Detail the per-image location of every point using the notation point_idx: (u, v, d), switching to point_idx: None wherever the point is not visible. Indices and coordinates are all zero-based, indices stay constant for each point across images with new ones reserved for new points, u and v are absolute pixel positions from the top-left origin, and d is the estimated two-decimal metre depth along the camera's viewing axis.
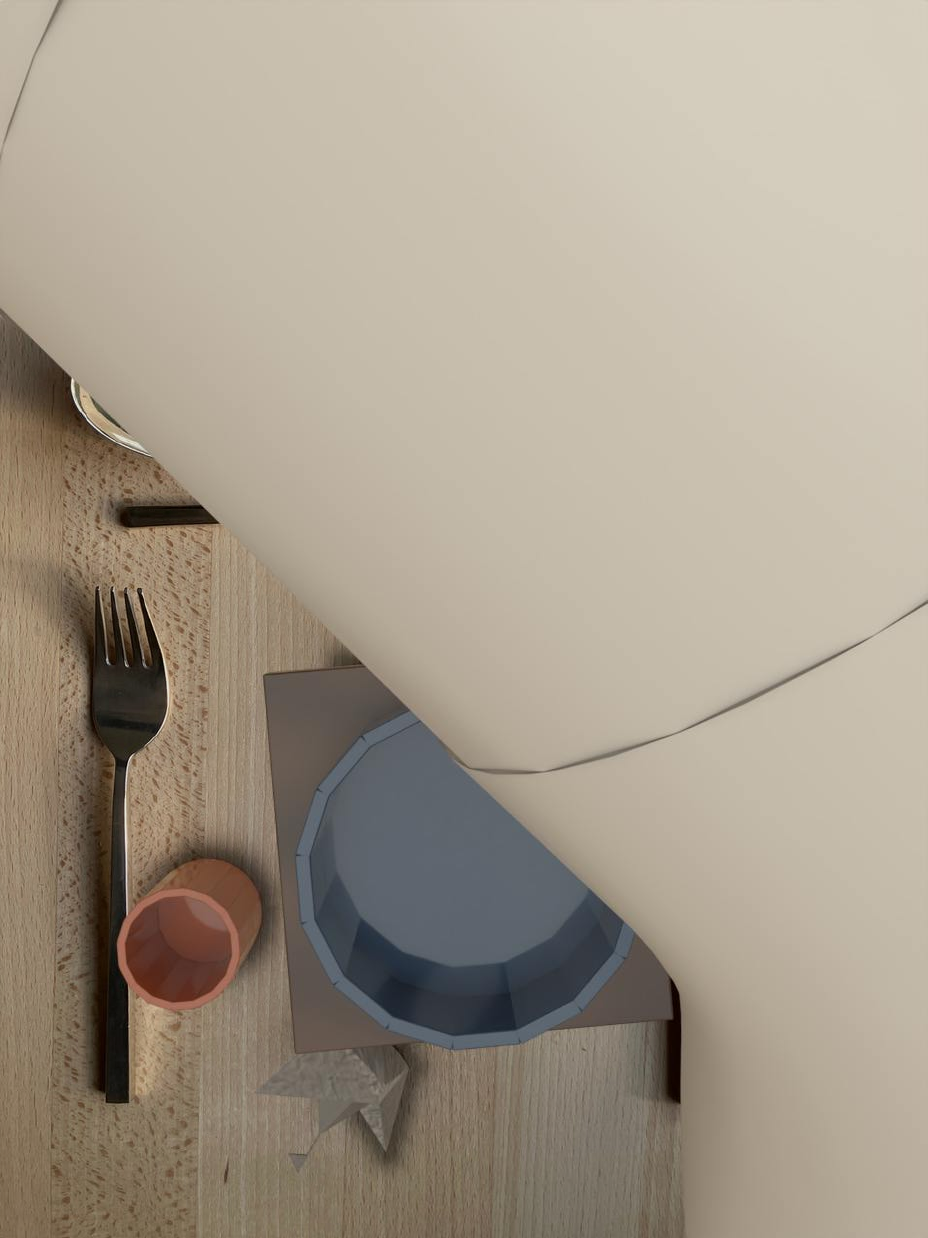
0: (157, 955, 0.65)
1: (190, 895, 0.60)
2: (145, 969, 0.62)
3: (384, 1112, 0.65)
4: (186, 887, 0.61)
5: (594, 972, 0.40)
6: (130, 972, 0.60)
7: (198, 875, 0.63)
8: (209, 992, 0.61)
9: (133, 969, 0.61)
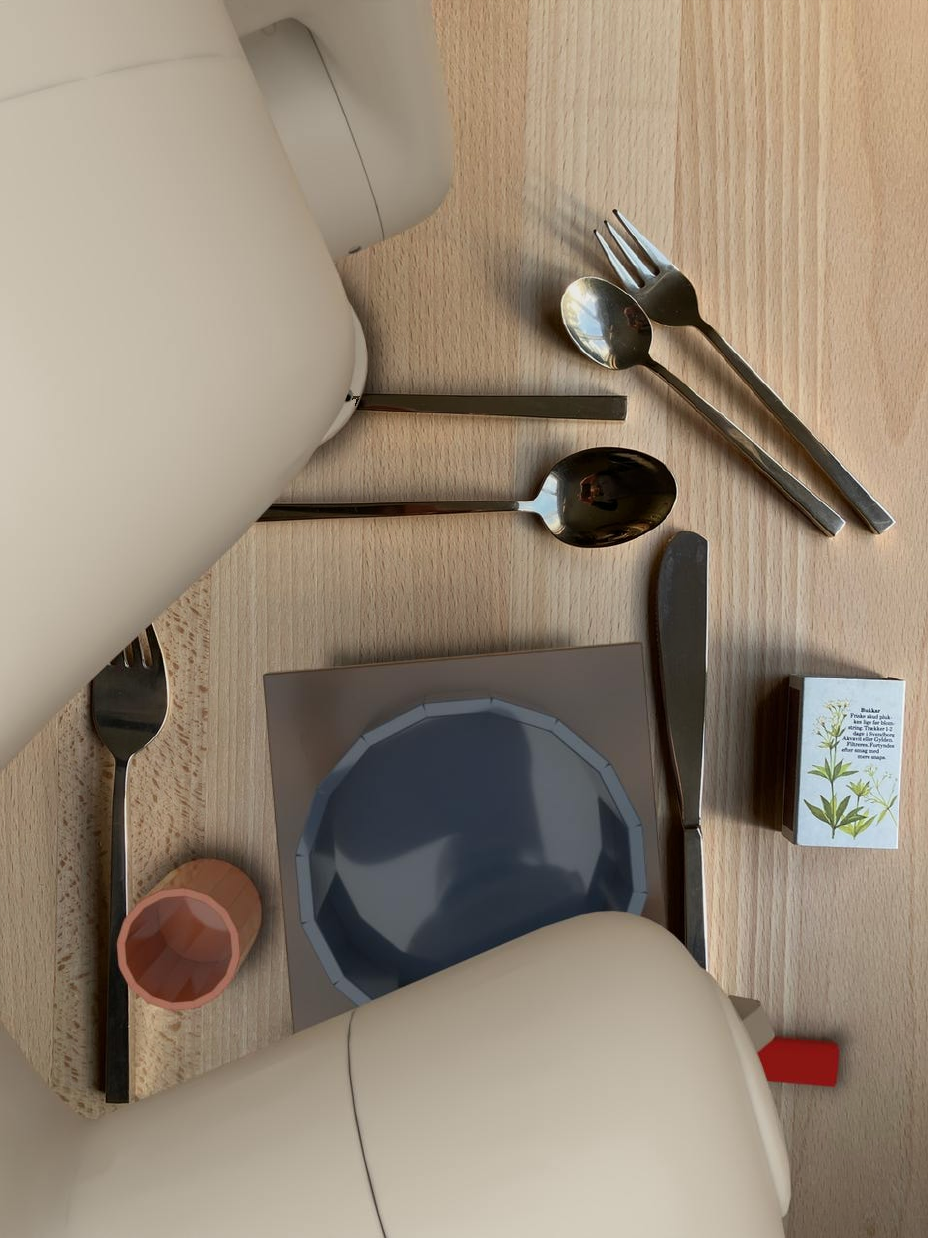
0: (157, 955, 0.65)
1: (190, 895, 0.60)
2: (145, 969, 0.62)
3: None
4: (186, 887, 0.61)
5: None
6: (130, 972, 0.60)
7: (198, 875, 0.63)
8: (209, 992, 0.61)
9: (133, 969, 0.61)
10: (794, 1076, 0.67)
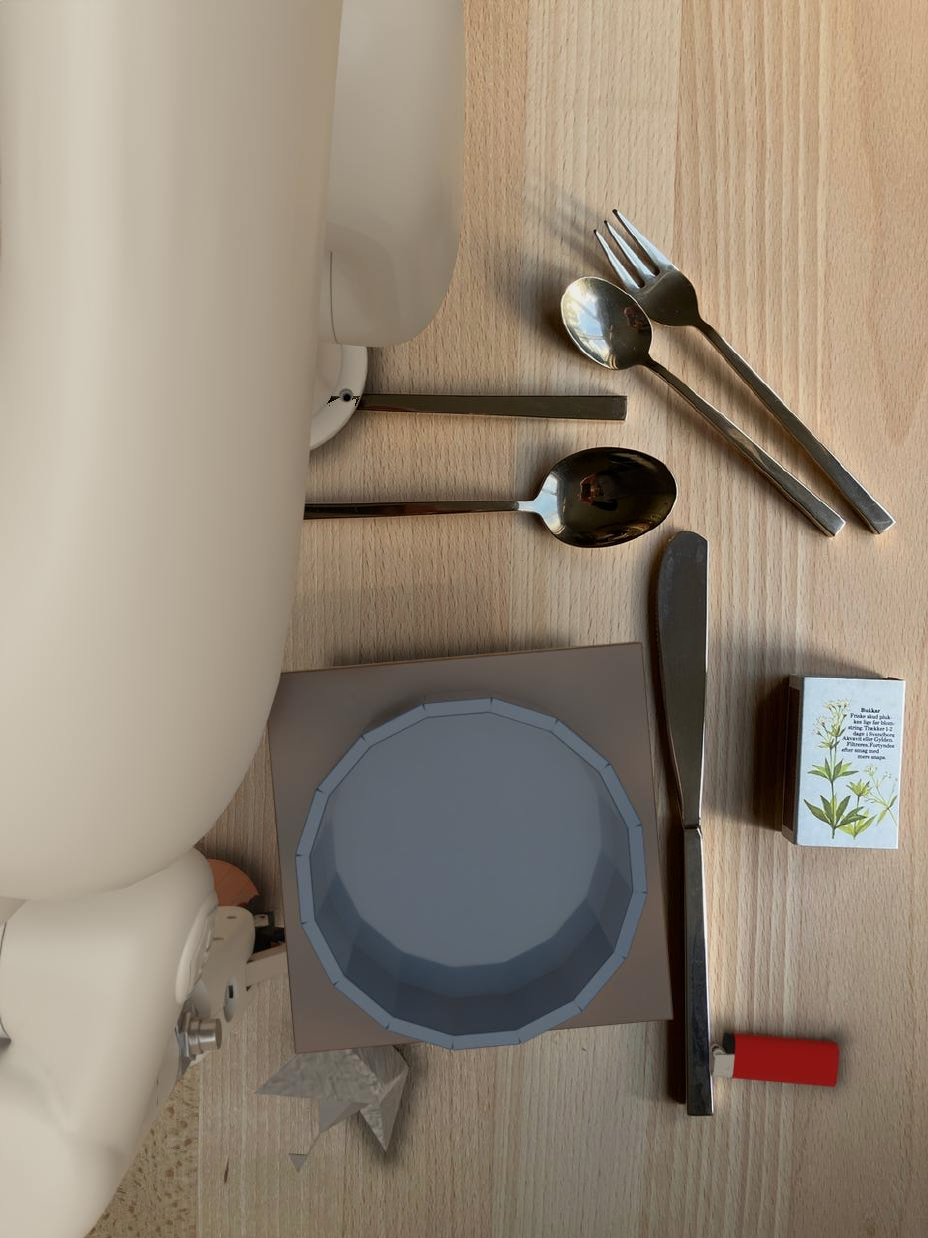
0: None
1: None
2: None
3: (384, 1112, 0.65)
4: None
5: (594, 972, 0.40)
6: None
7: None
8: None
9: None
10: (794, 1076, 0.67)
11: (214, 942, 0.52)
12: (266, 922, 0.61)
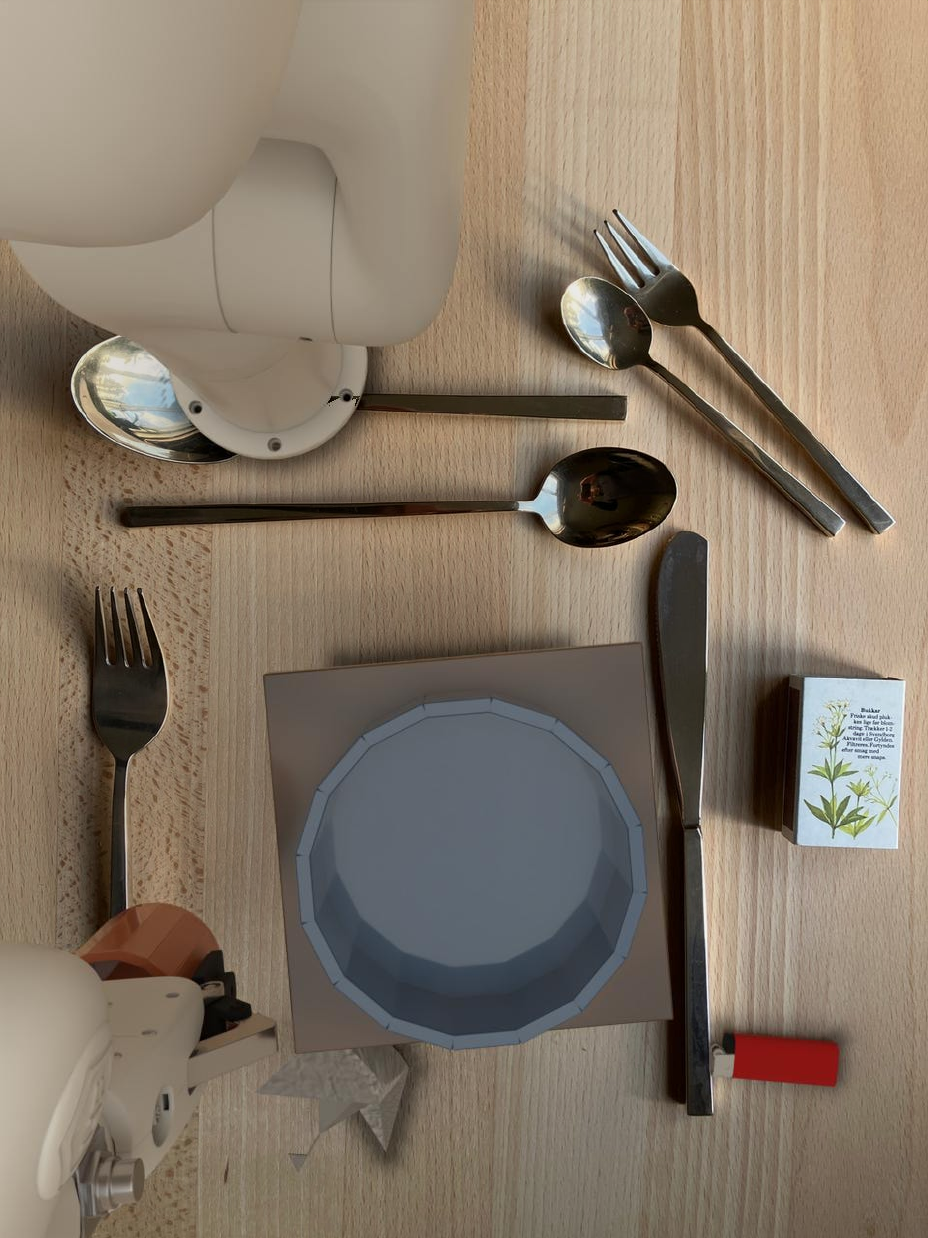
0: None
1: (125, 959, 0.48)
2: None
3: (384, 1112, 0.65)
4: (120, 949, 0.48)
5: (594, 972, 0.40)
6: None
7: (140, 929, 0.51)
8: None
9: None
10: (794, 1076, 0.67)
11: (143, 1038, 0.40)
12: (221, 992, 0.48)
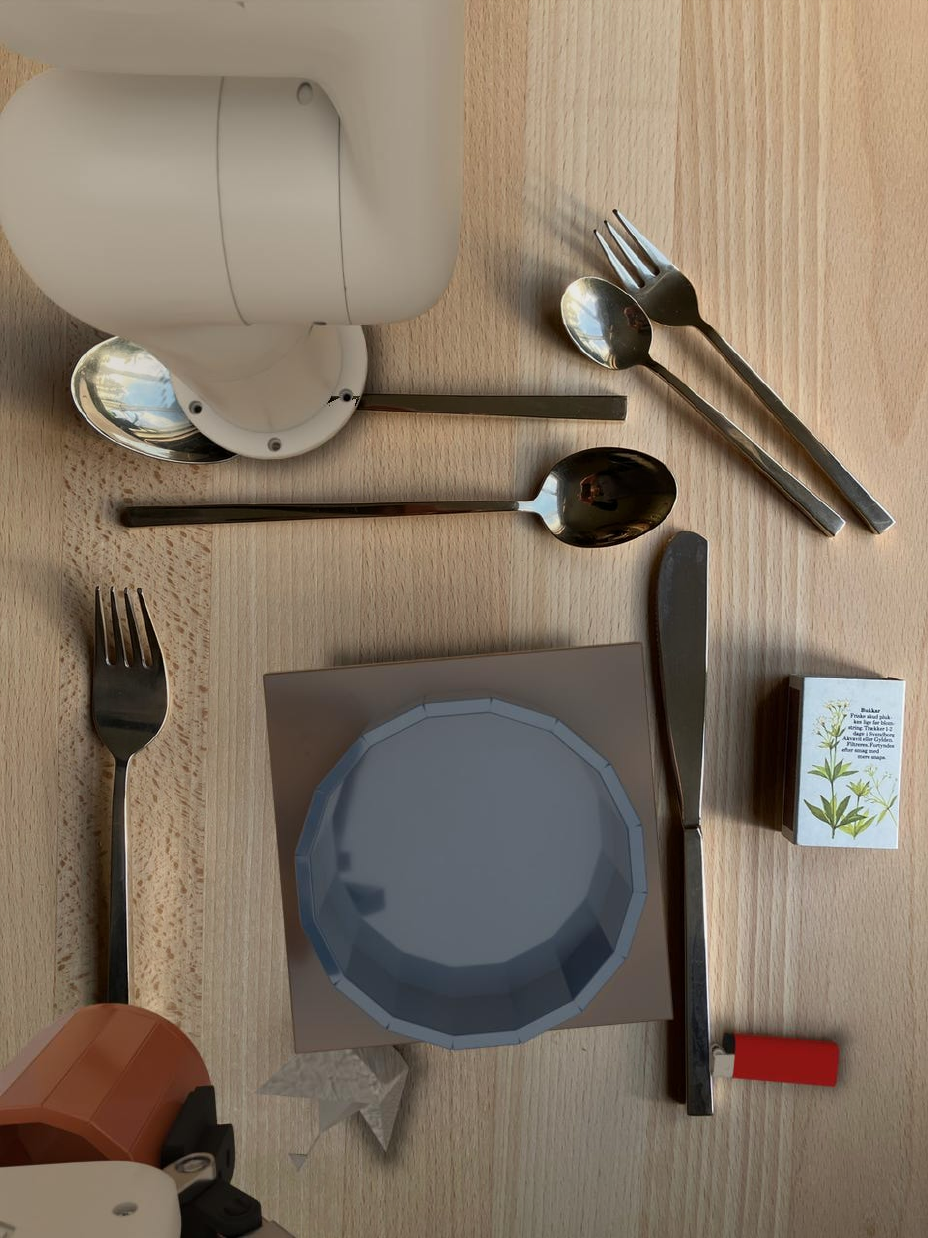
0: None
1: (52, 1121, 0.29)
2: None
3: (384, 1112, 0.65)
4: (44, 1103, 0.29)
5: (594, 972, 0.40)
6: None
7: (81, 1059, 0.32)
8: None
9: None
10: (794, 1076, 0.67)
11: None
12: (211, 1175, 0.29)
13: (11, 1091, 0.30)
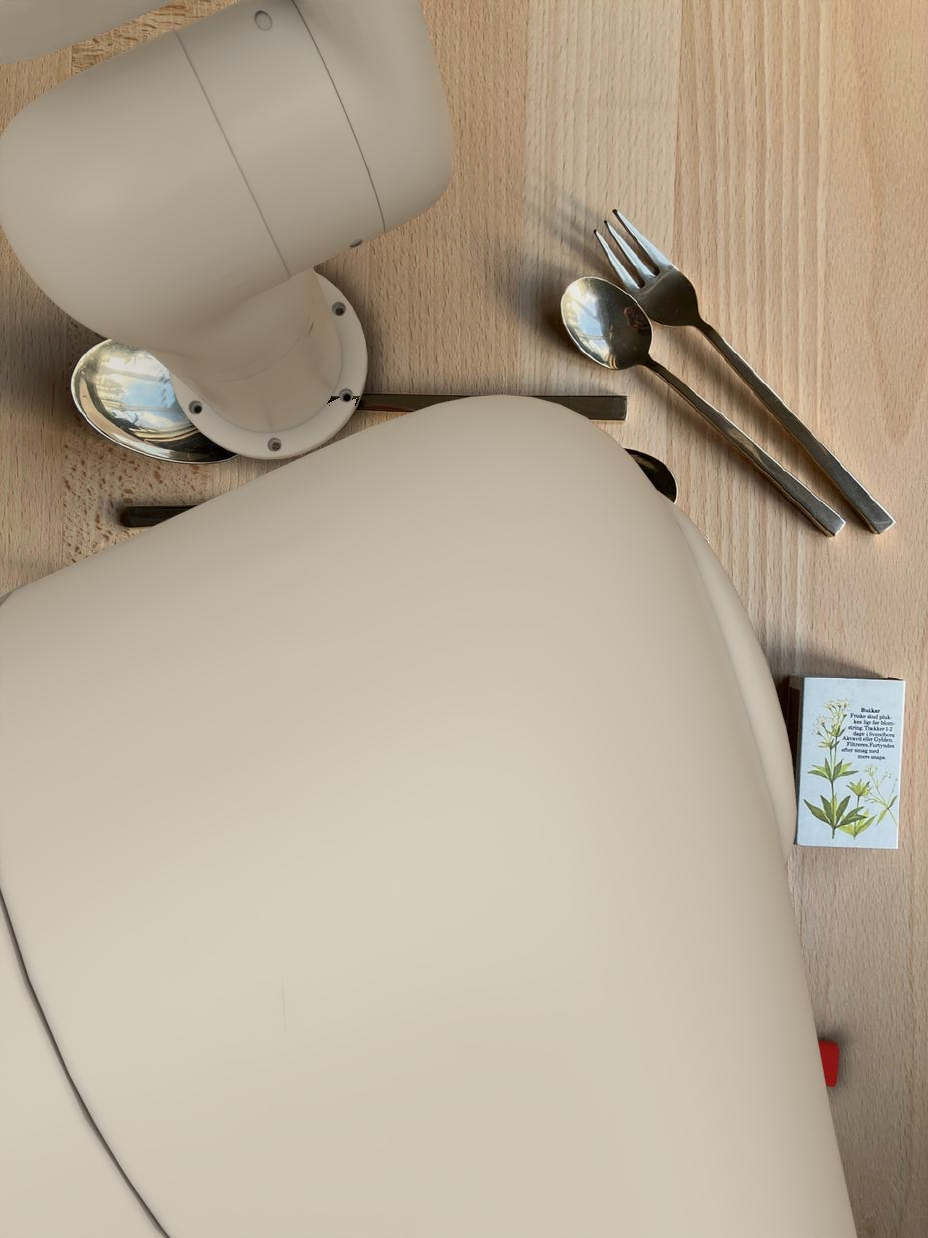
0: None
1: None
2: None
3: None
4: None
5: None
6: None
7: None
8: None
9: None
10: None
11: None
12: None
13: None
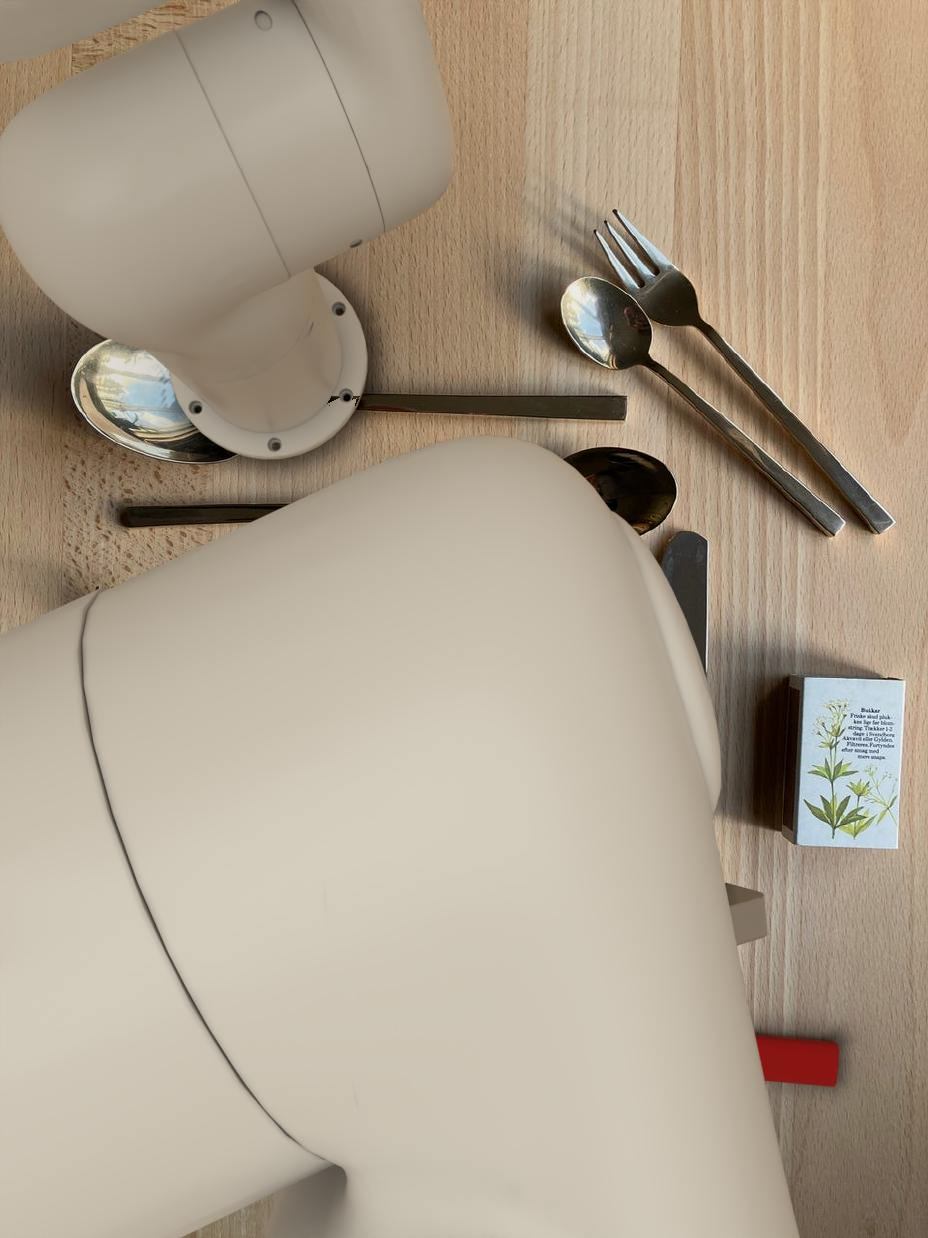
0: None
1: None
2: None
3: None
4: None
5: None
6: None
7: None
8: None
9: None
10: (794, 1076, 0.67)
11: None
12: None
13: None
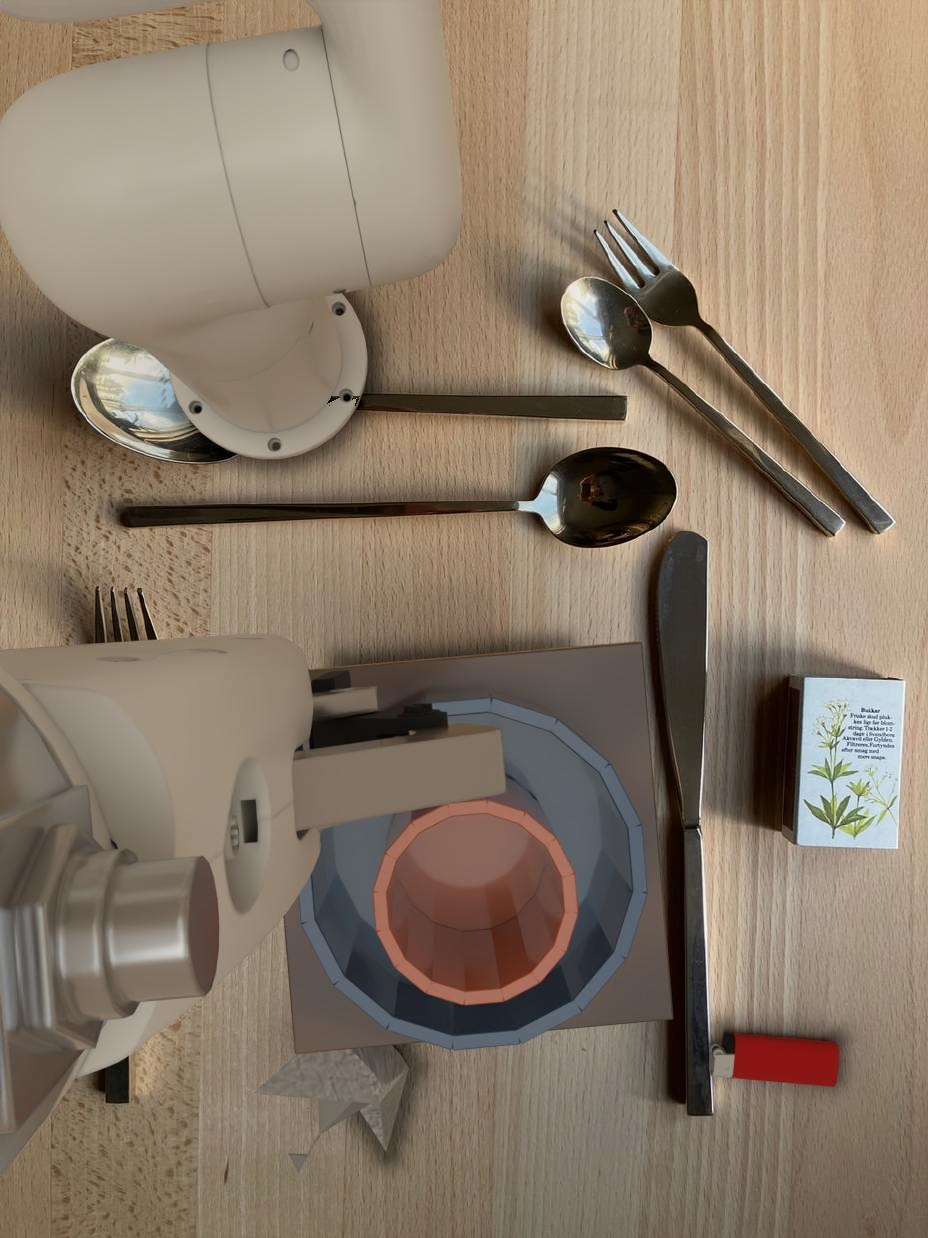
0: (409, 917, 0.41)
1: (496, 812, 0.36)
2: (406, 937, 0.38)
3: (384, 1112, 0.65)
4: (488, 799, 0.36)
5: (594, 972, 0.40)
6: (395, 941, 0.36)
7: None
8: (526, 974, 0.36)
9: (397, 937, 0.37)
10: (794, 1076, 0.67)
11: (194, 652, 0.15)
12: (372, 700, 0.23)
13: None
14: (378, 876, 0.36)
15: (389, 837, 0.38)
